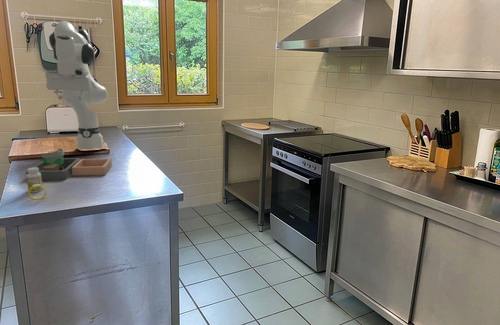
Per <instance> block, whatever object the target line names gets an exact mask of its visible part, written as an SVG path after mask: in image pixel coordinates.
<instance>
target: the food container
mask: <svg viewBox="0 0 500 325" xmlns="http://www.w3.org/2000/svg"><path fill="white" fill-rule="evenodd" d="M64 155H65V151H64V150H63V149H62V148H58V149H57V150H54V151H50V152H48V153H43V152H42V153H41V158H42V161H44V166H46V165H58V170H65V168H64V167H65V166H63V158H64Z"/></svg>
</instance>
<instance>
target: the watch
mask: <svg viewBox="0 0 500 325" xmlns="http://www.w3.org/2000/svg"><path fill="white" fill-rule="evenodd" d="M37 187H42V188H43V190H44V194H43V196H41V197H40V196H39V197H34V196H32V194H31V192H30V191H31V189H32V188H37ZM28 196H29V198H30V199H32V200H34V201H36V200H43V199H44V198H45V197H46V196H47V189H46V187H45V186H41V185H40V184H34V185H33V186H32V187H31V188H30V190H28Z"/></svg>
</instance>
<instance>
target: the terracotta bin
mask: <svg viewBox="0 0 500 325" xmlns="http://www.w3.org/2000/svg"><path fill="white" fill-rule="evenodd" d="M112 160H113V159H112V158H81V160H80V161H79V162H78V163H76V164H75V165H74V166H73V167H72V176H106V175H107V173H108V172H109V171H110V169H111V168H112V167H113V162H112Z"/></svg>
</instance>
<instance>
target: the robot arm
mask: <svg viewBox="0 0 500 325" xmlns="http://www.w3.org/2000/svg"><path fill="white" fill-rule="evenodd" d="M90 43H91V38H90V35H89V33H88V32H87V30H85V29H82V28H77V29H75V27H74V26H73V24H72V23H71V22H69V21H67V20H60V21H59V22H57V23H56V25H55V26H54V30H53V31H52V33H51V34H50V35H49V36H48V44H49V46H50V48H51V49H52V51H53V58H54V60H56V61H57V62H56V66H57V70H55V69H53V70H49V69H48V70H47V71H45V79H46V80H45V82H46V89H47V90H49V91H54V93H55V94H56V95H57V97H58V100H63V101H64V103H65V104H67V105H68V106H70V107H71V108H72V110H74V112H75V114H76V116H77V117H76V118H77V122H78V127H77V131H78V132H77V133H78V135H77V136H76V147H78V148H82V149H93V148H102V147H103V146H102V145H103V144H104V143H105V144H106V146H107V147H108V143H106V142H105V141H104V139H103V138H104V136H103V135H102V134H101V133H100V132H101V131H100V130H101V129H100V126H99V119H98V118H99V117H98V114H97V113H96V112H95V111H93V110H91V109H89V108H88V105H98V104H102V103H106V102H107V100H108V99H109V93H108V90H107V89H106V87H105V86H103V85H101V84H99V83H98V82H97V81H96V80H95V79H94V78H93V76H92V74H91V71H90V68H89V65H90V64H92V63H93V62H95V58H96V56H95V50H94V48H93V46H92V45H91V44H90ZM60 91H62V92H61V94H60Z"/></svg>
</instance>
